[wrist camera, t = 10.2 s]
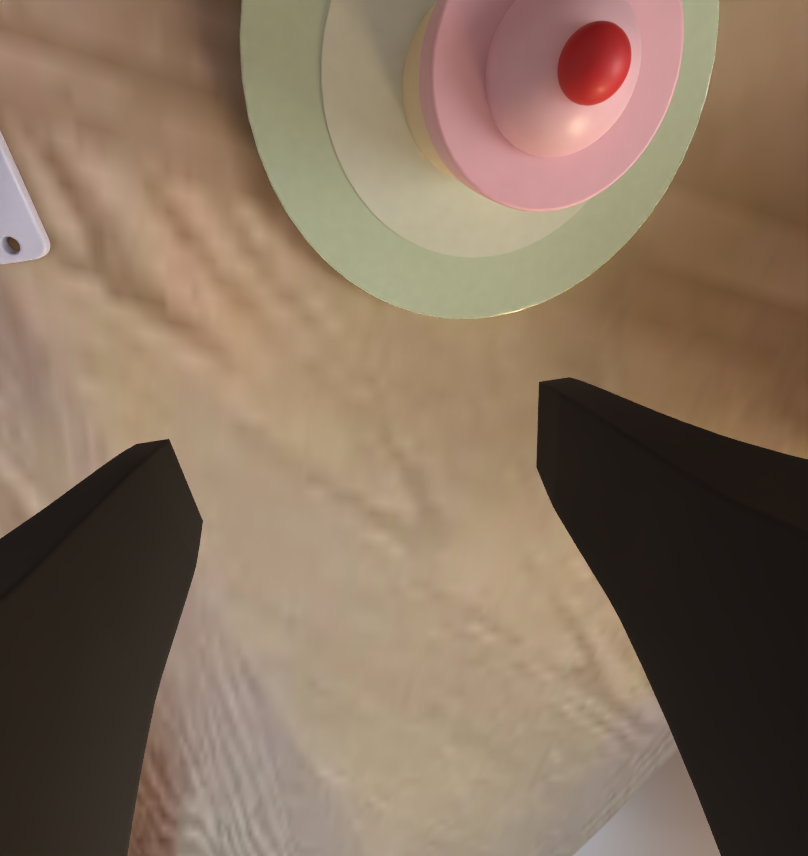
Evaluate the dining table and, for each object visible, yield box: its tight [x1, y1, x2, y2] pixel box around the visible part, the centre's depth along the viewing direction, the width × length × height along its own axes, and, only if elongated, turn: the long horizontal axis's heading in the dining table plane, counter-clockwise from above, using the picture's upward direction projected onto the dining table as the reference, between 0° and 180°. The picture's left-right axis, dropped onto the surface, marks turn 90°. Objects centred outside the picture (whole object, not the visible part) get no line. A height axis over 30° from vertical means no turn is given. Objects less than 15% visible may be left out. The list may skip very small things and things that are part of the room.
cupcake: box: [402, 0, 684, 212], centre depth 12 cm, size 5×5×8 cm
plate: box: [239, 0, 719, 319], centre depth 15 cm, size 14×14×1 cm
